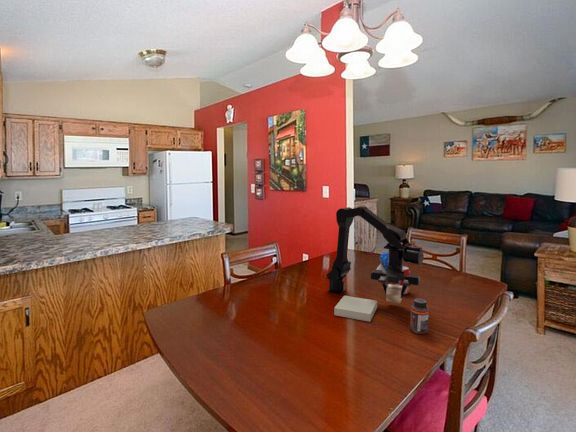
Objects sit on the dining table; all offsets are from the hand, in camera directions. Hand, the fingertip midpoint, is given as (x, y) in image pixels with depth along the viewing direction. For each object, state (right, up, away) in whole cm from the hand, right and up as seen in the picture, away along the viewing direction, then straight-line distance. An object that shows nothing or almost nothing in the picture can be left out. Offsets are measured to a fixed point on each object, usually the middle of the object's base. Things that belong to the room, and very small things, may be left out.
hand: (394, 296), depth 138 cm
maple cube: (0, -1, 0) cm, 1 cm away
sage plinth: (-17, -5, -4) cm, 18 cm away
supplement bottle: (+2, -7, -20) cm, 21 cm away
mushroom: (+10, +1, +40) cm, 41 cm away
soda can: (+8, -2, +16) cm, 19 cm away
